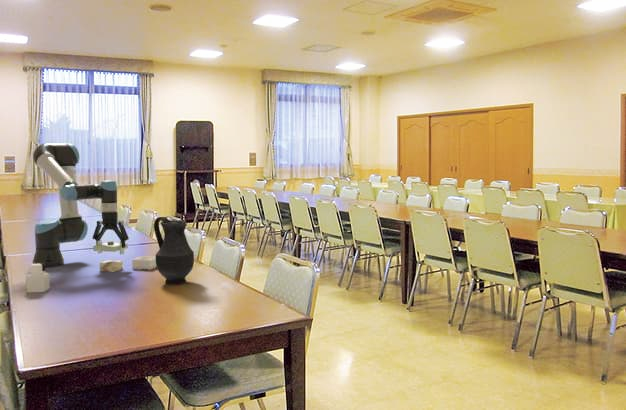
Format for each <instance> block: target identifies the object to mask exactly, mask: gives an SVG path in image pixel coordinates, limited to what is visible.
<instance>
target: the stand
mask: <svg viewBox="0 0 626 410" xmlns="http://www.w3.org/2000/svg"><path fill="white" fill-rule="evenodd" d="M123 264H124V262H123V260H110V259H108V260H105V261H102V262H99V272H110V273H114V272H118V271H121V270H123V269H124V267H123Z"/></svg>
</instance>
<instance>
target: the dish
mask: <svg viewBox="0 0 626 410" xmlns="http://www.w3.org/2000/svg"><path fill="white" fill-rule="evenodd" d="M131 261H132V262H131V263H132V270H142V269H148V270H147V271H151V270H153V268H154V269H156V268H155V267H157V266H156V256H153V255H142V256H138V257H136V258H135V257H134V258H133V259H131ZM150 269H151V270H150Z"/></svg>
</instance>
